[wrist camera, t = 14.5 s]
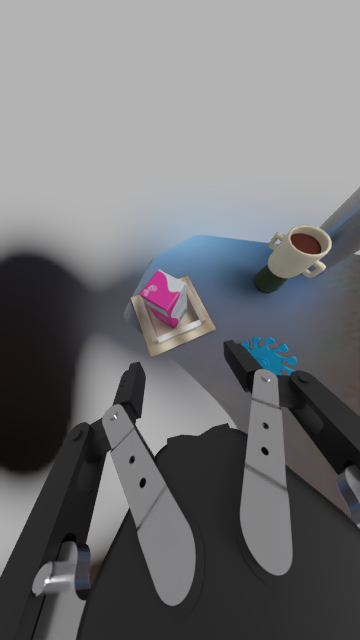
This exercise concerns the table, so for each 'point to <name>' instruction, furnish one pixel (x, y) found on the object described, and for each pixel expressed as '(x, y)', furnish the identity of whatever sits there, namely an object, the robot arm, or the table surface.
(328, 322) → the table surface
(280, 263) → the character mug
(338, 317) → the table surface
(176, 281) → the supplement box
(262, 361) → the gear
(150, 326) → the plate
